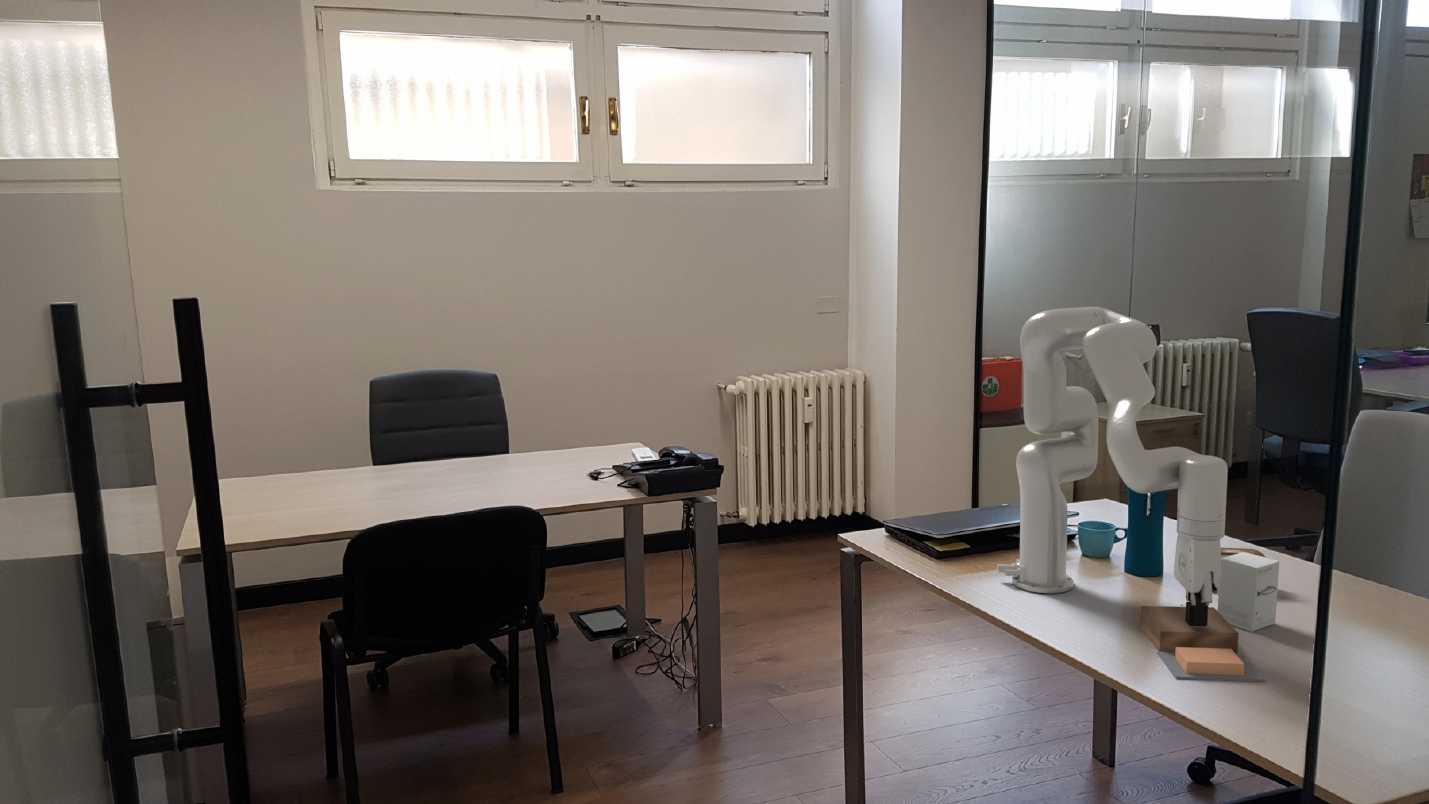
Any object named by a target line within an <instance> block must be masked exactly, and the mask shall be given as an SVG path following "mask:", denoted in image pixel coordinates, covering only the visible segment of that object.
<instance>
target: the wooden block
mask: <svg viewBox="0 0 1429 804" xmlns="http://www.w3.org/2000/svg"><path fill="white" fill-rule="evenodd" d="M1217 610H1218V609H1216V608H1215V607H1213V606H1212V607H1211V606H1210V607H1209V606H1208V622H1207V626H1189V625H1188V624H1187V623H1186V622H1185V615H1186V606H1166V605H1165V606H1164V605H1163V606H1160V605H1157V606H1155V605H1153V606H1152V605H1141V606H1140V617H1139V618H1140V620H1139V621H1140V624H1139V626H1140V627H1141V629H1142V630H1143V632H1144V634H1146V636H1147V637H1148V639H1149V640H1150V641H1151V643H1152V644H1153V646H1154V647H1155V648H1156V650H1157V652H1158V651H1162V652H1176V647H1190V648H1221V649H1232V650H1233V652H1234V653H1236V654H1239V653H1238V652H1239V650H1238V649H1239V632H1238V631H1237V630H1236V629H1235V628H1234V626H1233V625H1230V624H1229V623H1228V622H1227V621H1226V620H1225V619H1224V618H1223V616H1222V615H1221V614H1220V613H1219V612H1218V611H1217Z"/></svg>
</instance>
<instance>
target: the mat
mask: <svg viewBox="0 0 1429 804" xmlns="http://www.w3.org/2000/svg"><path fill="white" fill-rule="evenodd" d="M1175 653H1176V652H1162V651H1158V650H1157V655H1158V656H1159V658H1160V659H1161V661H1162V662H1163V663H1164V664H1165V666H1166V667H1167V669H1168V671H1169V672H1170V673H1171V675H1172V676H1173V678H1174V679H1175V680H1199V681H1200V680H1207V681H1208V680H1209V681H1235V682H1236V681H1237V682H1265V683H1266V678H1265V677H1264V676H1263V675H1262V674H1261V673H1260V672H1259V671H1258V669H1256V667H1255V666H1254V665H1253V664H1252V663H1251V662H1250V661H1249V660H1248V658H1247V657H1245V655H1244V654H1242V653H1237V654H1236V653H1235V654H1236V655H1237V656H1238V657H1239V658H1240V660H1241V661H1242V662H1243V663H1244V675H1228V674H1200V673H1186V672H1185V671H1184V669H1183V668H1182V666H1181V665H1180V664H1179V662H1178V661H1177V659H1176V658H1175Z"/></svg>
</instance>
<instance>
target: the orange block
mask: <svg viewBox="0 0 1429 804" xmlns="http://www.w3.org/2000/svg"><path fill="white" fill-rule="evenodd" d="M1175 658H1176V659H1177V661H1178V662H1179V664H1180V665H1181V666H1182V668H1183V669H1184V671H1185V672H1186V673H1200V674H1228V675H1244V663H1243V662H1242V661H1241V660H1240V658H1239V657H1238V656H1237V655H1236V654H1235V653H1234V652H1233V650H1232V649H1221V648H1190V647H1176V653H1175Z"/></svg>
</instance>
